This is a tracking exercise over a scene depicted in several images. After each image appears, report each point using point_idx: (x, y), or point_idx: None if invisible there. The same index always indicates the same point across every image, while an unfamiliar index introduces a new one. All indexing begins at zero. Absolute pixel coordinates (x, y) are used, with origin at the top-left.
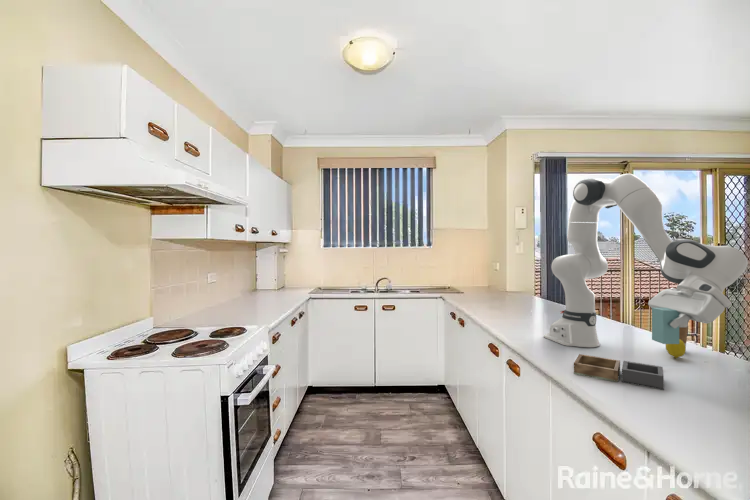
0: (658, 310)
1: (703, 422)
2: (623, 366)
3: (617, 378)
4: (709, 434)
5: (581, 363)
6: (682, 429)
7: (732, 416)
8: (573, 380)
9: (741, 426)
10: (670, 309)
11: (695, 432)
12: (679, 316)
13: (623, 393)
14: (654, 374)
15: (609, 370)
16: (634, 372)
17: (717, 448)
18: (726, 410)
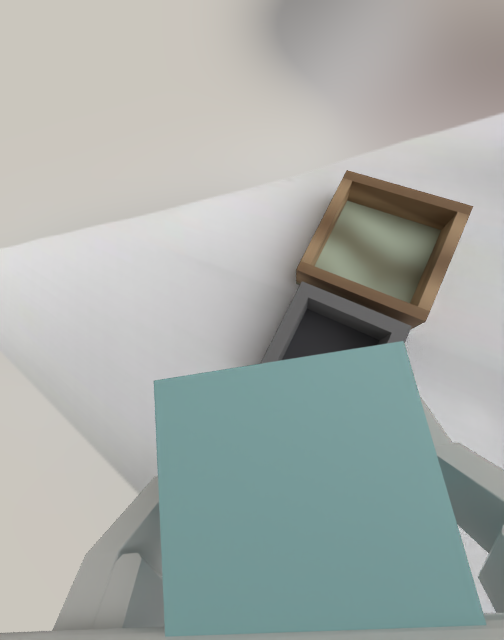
0: (251, 366)
1: (92, 359)
2: (333, 297)
3: (296, 278)
4: (52, 339)
5: (425, 221)
6: (69, 303)
7: (118, 445)
8: (288, 184)
9: (77, 426)
10: (248, 575)
11: (59, 319)
12: (141, 559)
13: (220, 269)
14: (266, 358)
15: (305, 253)
16: (287, 311)
17: (15, 322)
18: (146, 458)
